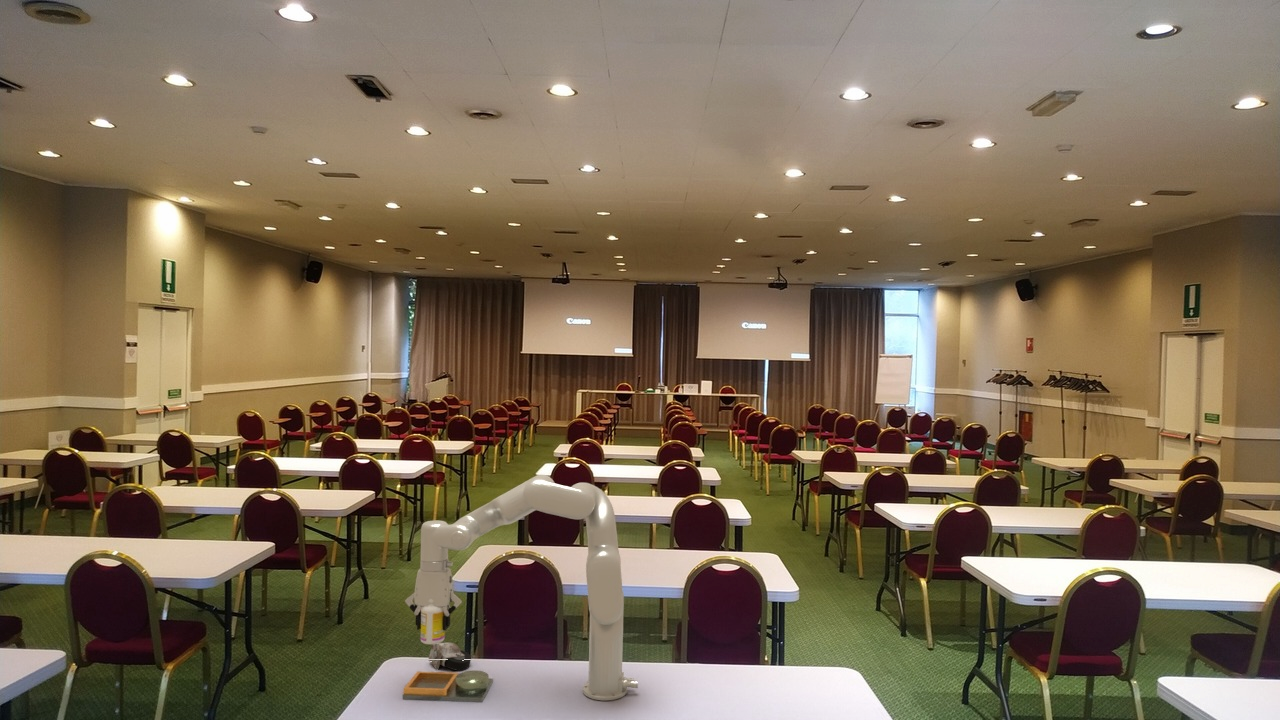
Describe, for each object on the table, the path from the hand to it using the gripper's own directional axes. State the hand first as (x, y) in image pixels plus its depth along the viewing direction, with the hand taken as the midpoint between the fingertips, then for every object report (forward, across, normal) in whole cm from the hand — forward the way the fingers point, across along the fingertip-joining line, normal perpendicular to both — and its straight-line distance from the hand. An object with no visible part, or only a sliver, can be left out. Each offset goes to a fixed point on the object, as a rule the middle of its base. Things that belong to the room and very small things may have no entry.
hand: (432, 627), depth 218 cm
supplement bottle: (+4, 0, 0) cm, 4 cm away
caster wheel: (+18, -1, -18) cm, 25 cm away
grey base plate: (+18, -5, 0) cm, 18 cm away
